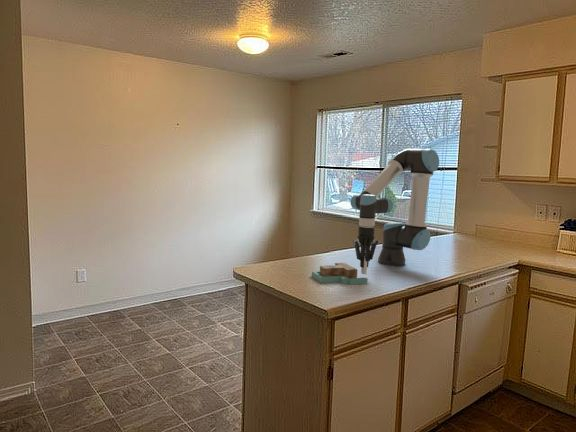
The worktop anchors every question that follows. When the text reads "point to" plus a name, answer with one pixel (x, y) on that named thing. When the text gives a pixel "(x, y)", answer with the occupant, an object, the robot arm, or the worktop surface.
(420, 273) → the worktop surface
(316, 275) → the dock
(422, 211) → the robot arm
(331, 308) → the worktop surface
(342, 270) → the t block
